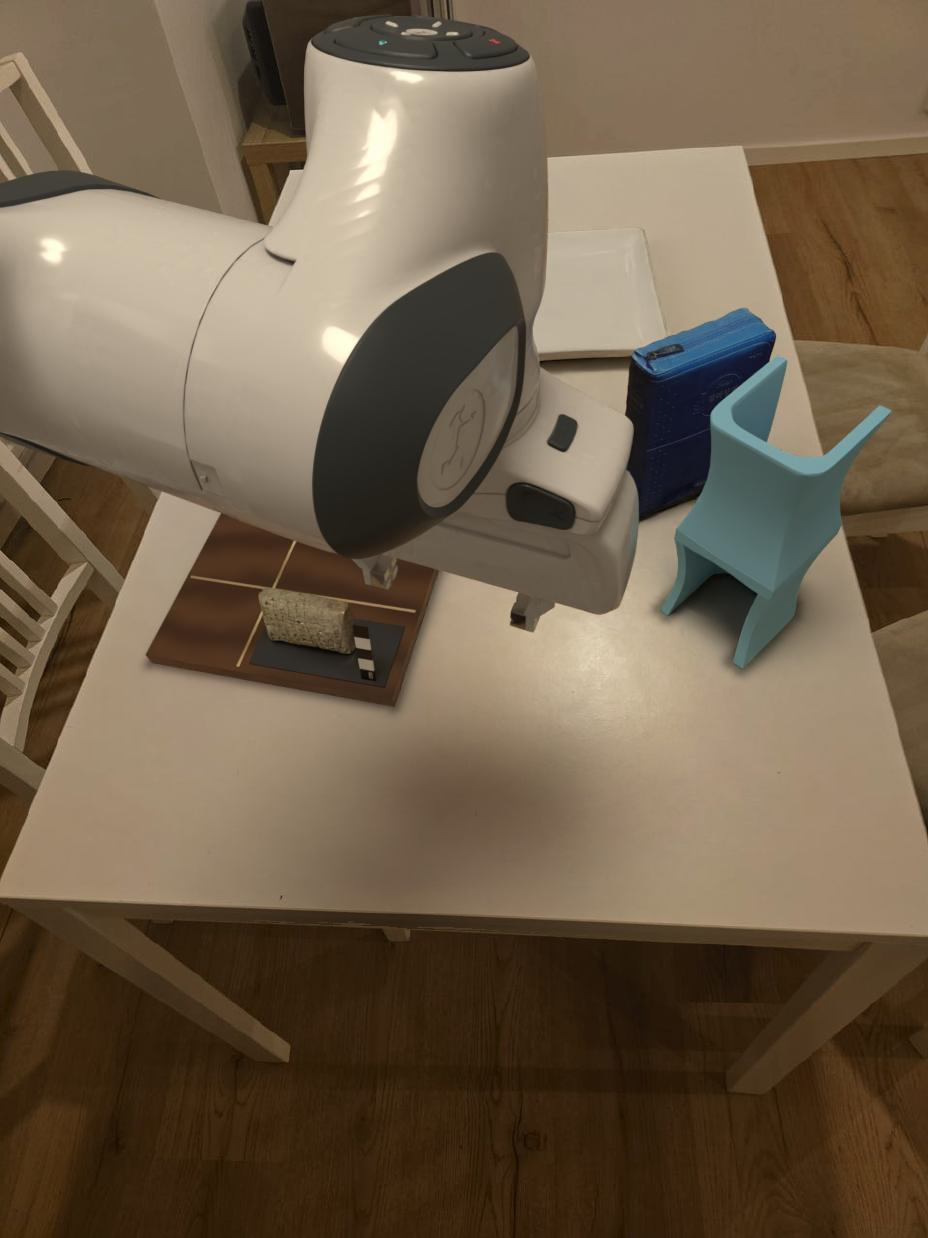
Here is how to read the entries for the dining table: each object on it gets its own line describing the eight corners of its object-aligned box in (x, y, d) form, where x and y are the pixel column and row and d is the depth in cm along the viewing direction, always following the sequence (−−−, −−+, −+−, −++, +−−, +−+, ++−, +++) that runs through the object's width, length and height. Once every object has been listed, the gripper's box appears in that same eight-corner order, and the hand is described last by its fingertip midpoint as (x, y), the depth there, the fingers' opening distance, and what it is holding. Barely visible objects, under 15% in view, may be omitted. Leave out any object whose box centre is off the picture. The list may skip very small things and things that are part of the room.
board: (394, 706, 77) (391, 698, 75) (151, 662, 82) (144, 653, 81) (490, 409, 99) (489, 398, 98) (294, 389, 104) (291, 378, 103)
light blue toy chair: (803, 607, 79) (894, 410, 59) (742, 669, 76) (816, 483, 55) (720, 554, 84) (778, 353, 63) (659, 610, 80) (698, 417, 60)
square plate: (668, 370, 100) (672, 344, 97) (449, 385, 102) (446, 359, 99) (642, 247, 116) (644, 221, 113) (452, 261, 118) (449, 236, 114)
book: (630, 530, 87) (650, 380, 70) (604, 498, 89) (617, 346, 73) (742, 482, 89) (787, 325, 73) (714, 452, 92) (751, 295, 76)
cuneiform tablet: (375, 681, 77) (259, 659, 79) (390, 647, 80) (277, 628, 82) (367, 628, 72) (243, 607, 74) (383, 594, 75) (263, 575, 77)
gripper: (217, 417, 39) (277, 592, 50) (636, 523, 34) (598, 689, 46) (279, 341, 42) (323, 521, 53) (668, 428, 38) (626, 605, 49)
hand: (452, 599), depth 49 cm, fingers open, 8 cm apart
